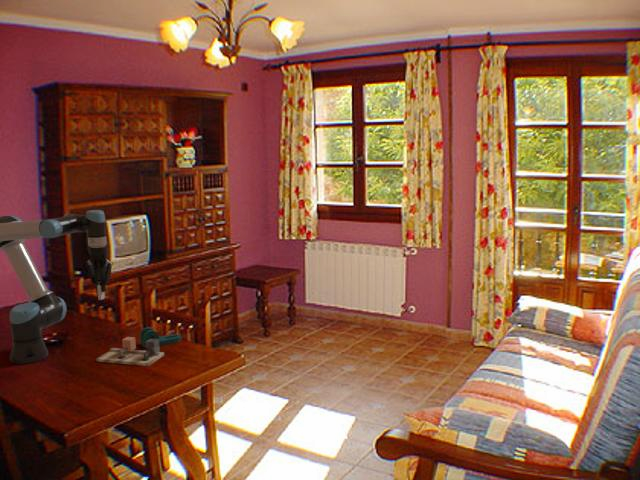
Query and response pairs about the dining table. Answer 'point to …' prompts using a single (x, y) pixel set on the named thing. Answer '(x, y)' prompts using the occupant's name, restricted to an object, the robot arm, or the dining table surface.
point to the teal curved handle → (163, 340)
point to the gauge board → (134, 355)
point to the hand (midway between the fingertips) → (101, 298)
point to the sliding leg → (128, 344)
